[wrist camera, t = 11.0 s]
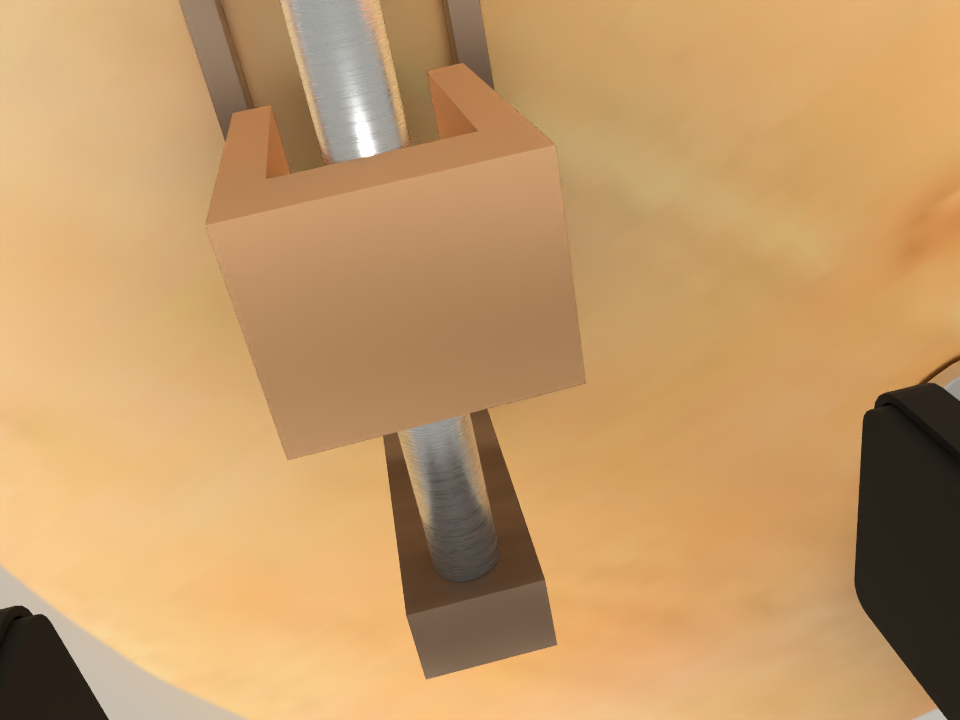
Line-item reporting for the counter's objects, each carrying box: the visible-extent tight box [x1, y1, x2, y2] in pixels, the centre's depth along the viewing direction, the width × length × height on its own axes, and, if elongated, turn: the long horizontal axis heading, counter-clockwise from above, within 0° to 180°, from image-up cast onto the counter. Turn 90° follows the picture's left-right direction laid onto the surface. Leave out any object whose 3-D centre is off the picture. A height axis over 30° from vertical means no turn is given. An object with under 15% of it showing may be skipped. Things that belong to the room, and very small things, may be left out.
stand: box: [179, 0, 557, 679], centre depth 23 cm, size 23×9×14 cm, turn 10°
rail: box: [280, 0, 500, 583], centre depth 19 cm, size 21×2×2 cm, turn 10°
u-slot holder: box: [205, 63, 586, 460], centre depth 20 cm, size 5×6×9 cm
